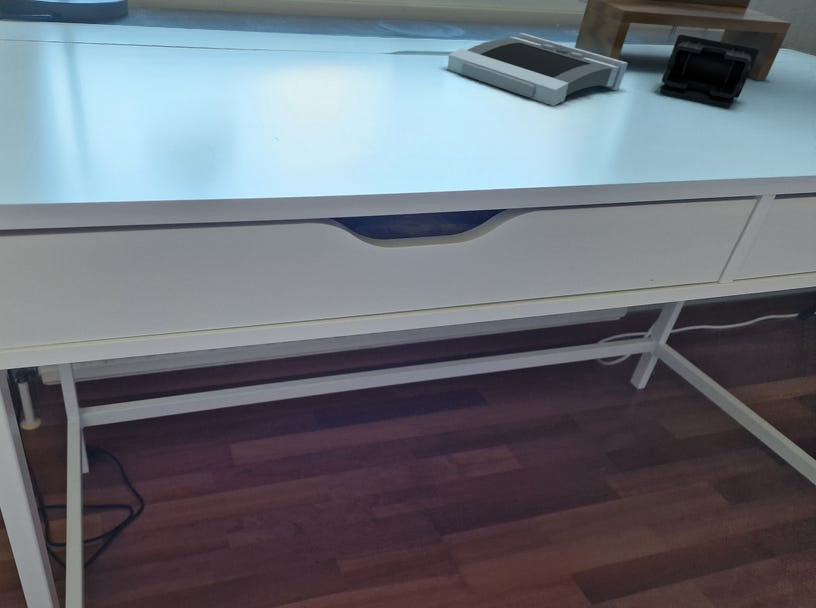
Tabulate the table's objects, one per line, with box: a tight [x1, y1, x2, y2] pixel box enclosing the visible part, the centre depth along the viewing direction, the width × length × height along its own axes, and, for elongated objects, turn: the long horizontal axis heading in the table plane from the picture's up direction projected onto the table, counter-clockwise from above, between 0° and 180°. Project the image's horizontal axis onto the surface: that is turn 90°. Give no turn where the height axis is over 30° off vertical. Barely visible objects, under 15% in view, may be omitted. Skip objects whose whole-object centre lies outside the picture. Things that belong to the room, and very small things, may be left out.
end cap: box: [659, 34, 759, 109], centre depth 89 cm, size 10×7×7 cm
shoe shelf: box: [574, 0, 792, 81], centre depth 101 cm, size 12×26×10 cm, turn 96°
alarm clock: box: [447, 32, 629, 107], centre depth 89 cm, size 17×5×16 cm
